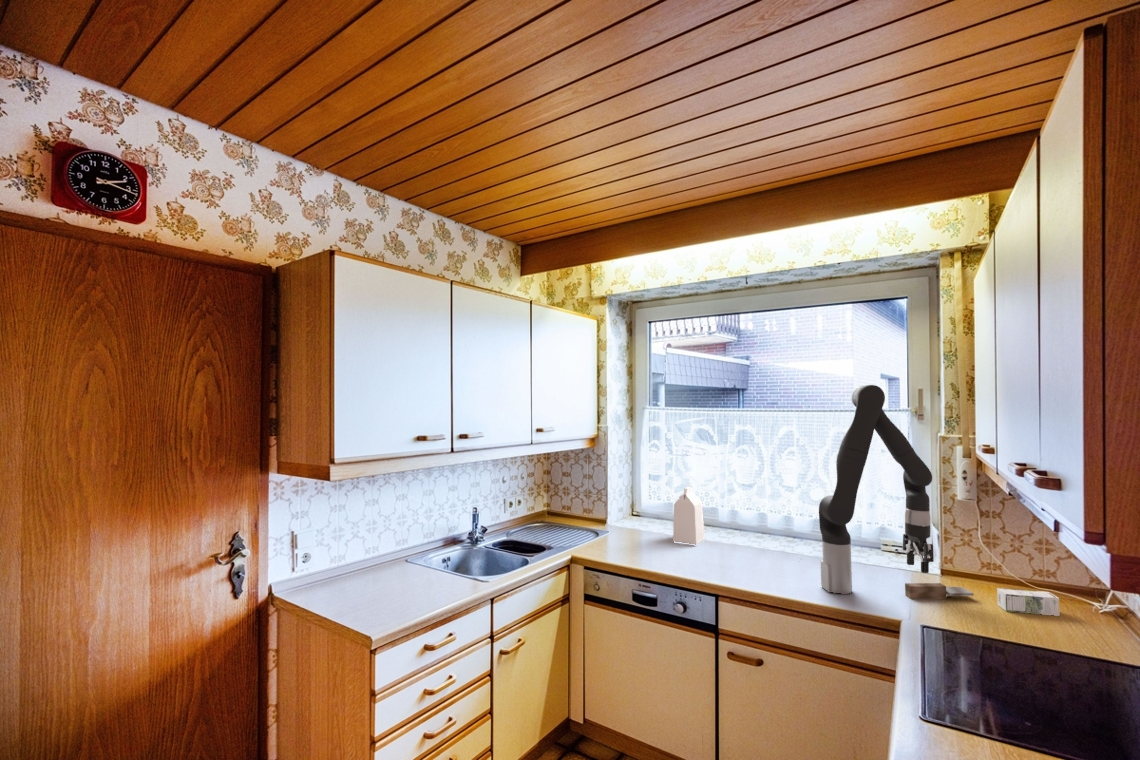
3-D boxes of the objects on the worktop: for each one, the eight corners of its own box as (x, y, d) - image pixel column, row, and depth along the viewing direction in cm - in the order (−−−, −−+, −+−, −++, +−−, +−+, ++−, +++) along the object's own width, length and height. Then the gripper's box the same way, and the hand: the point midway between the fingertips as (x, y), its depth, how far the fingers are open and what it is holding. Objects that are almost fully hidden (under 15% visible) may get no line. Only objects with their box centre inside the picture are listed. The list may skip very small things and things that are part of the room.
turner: (913, 601, 180) (912, 588, 180) (902, 594, 186) (902, 581, 186) (973, 600, 179) (973, 587, 179) (961, 594, 185) (960, 581, 185)
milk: (696, 546, 248) (695, 490, 249) (673, 543, 254) (672, 488, 255) (704, 540, 258) (703, 486, 259) (682, 537, 264) (681, 484, 265)
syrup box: (997, 605, 175) (1049, 609, 171) (1006, 612, 170) (1061, 616, 166) (996, 587, 176) (1049, 591, 172) (1005, 594, 170) (1060, 598, 166)
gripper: (895, 517, 194) (895, 561, 194) (918, 526, 180) (918, 575, 179) (916, 518, 193) (916, 562, 193) (941, 527, 179) (941, 576, 179)
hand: (917, 568), depth 186 cm, fingers open, 8 cm apart
